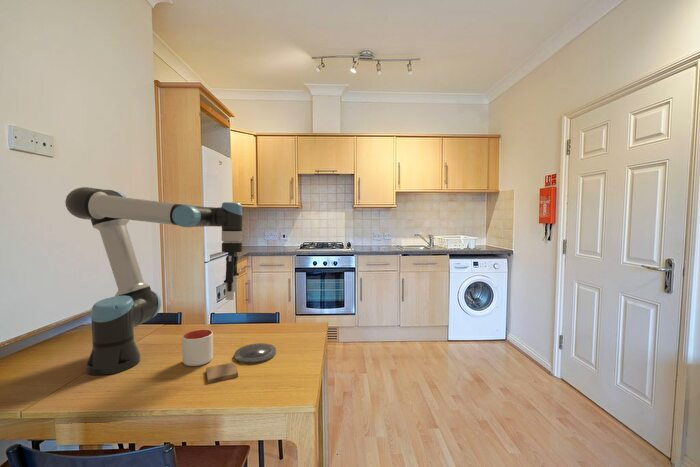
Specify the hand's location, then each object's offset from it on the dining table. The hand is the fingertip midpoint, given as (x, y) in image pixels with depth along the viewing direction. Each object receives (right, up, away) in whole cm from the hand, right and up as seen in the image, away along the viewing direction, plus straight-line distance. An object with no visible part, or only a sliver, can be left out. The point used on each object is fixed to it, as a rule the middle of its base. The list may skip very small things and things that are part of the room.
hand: (231, 295), depth 124 cm
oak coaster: (+4, -22, -20) cm, 30 cm away
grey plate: (+11, -22, -5) cm, 25 cm away
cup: (-8, -22, -10) cm, 26 cm away
